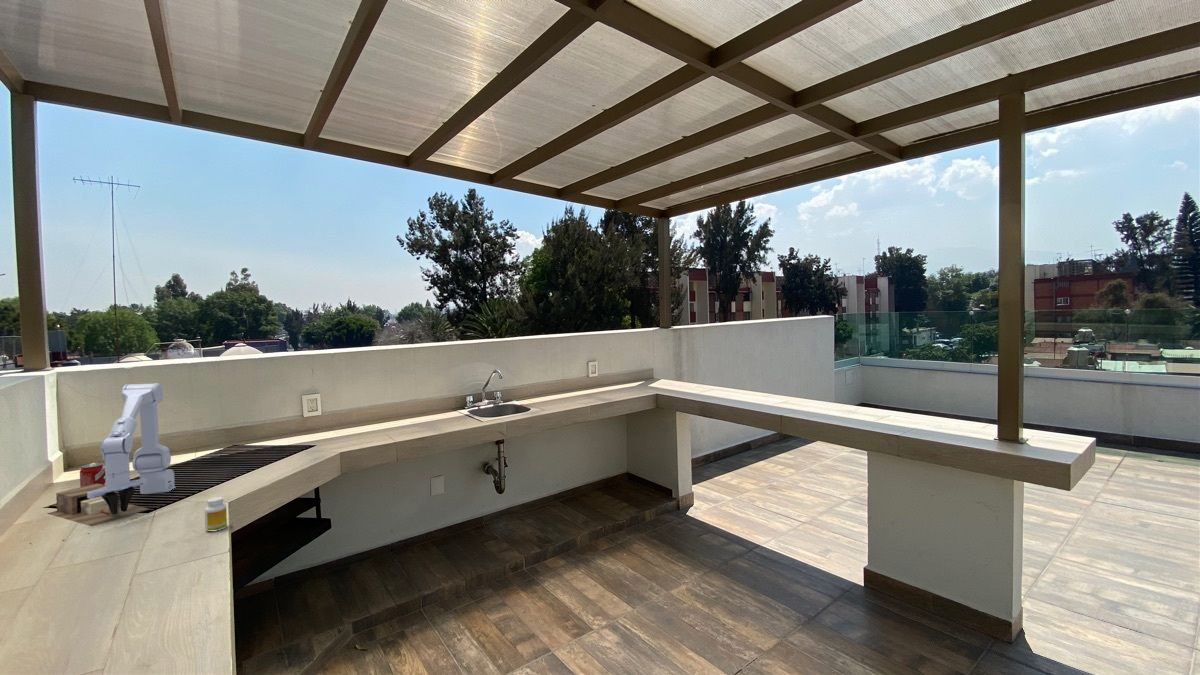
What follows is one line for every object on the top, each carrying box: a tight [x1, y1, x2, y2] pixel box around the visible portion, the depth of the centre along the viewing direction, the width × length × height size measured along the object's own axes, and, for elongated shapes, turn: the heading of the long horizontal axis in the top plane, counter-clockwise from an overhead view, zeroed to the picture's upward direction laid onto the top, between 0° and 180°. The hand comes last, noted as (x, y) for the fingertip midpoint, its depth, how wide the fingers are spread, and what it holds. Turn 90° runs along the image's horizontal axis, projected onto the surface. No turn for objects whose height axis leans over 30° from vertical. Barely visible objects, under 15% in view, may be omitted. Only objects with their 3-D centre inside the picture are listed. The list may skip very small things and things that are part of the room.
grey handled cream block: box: [81, 496, 120, 517], centre depth 163 cm, size 14×6×6 cm, turn 69°
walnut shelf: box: [46, 483, 150, 527], centre depth 164 cm, size 28×15×7 cm, turn 69°
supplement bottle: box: [204, 496, 228, 531], centre depth 153 cm, size 5×5×10 cm
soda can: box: [79, 461, 106, 488], centre depth 181 cm, size 7×7×12 cm
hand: (119, 512), depth 160 cm, fingers closed on grey handled cream block
